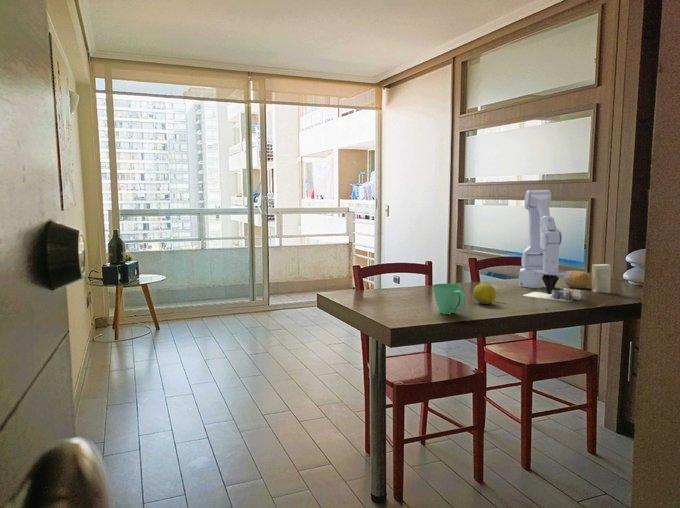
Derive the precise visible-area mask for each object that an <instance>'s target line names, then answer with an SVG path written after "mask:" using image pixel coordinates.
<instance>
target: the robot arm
mask: <svg viewBox="0 0 680 508" xmlns="http://www.w3.org/2000/svg"><path fill="white" fill-rule="evenodd" d="M551 202H552V192H551V191H550V189H545V190H544V189H543V190H541V189H538V190H530V189H529V190H526V191H525V194H524V208H525V210H527V211H528V246H527V247H526V248H525V249H524V250H522V253H521V268H520V270H519V273H518V287H523V288H531V289H541V288H543V284H544V286H545V288H546V289H545V290H546V293H547V294H552V289H553V287H556V285H557V283H558V281H559V278H562V279H563V278H570V273H566V271H559V264H560V263H559V262H560V261H559V258H560V257H559V255H560V254H559V253H560V245H562V242H563V241H562V240H563V239H562V237H563V236H562V232H561V230H560V229H559V228H557V225H556V221H555V218H554V217H553V216H551V212H550V204H551ZM541 233H542V235H541ZM541 243H542V244H541ZM541 246H542V247H541Z"/></svg>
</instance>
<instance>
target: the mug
mask: <svg viewBox="0 0 680 508" xmlns="http://www.w3.org/2000/svg"><path fill="white" fill-rule="evenodd" d="M432 288H433V294H434V299H435V302H436V306H437V308H438V311H439V313H440V312H441V313H457V312H459V311H461V309H462V308H463V306H464V305H465V304H466V303H465V302H466V295H465V293H464V291H463V290H462V286H461V285H460V284H456V283H437V284H436V283H435V284H433V286H432ZM441 313H440V314H441Z"/></svg>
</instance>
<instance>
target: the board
mask: <svg viewBox="0 0 680 508" xmlns="http://www.w3.org/2000/svg"><path fill="white" fill-rule="evenodd" d="M522 296H524V297H530V298H537V299H544V300H545V299H546V300H554V301H560V302H568V303H569V302H572V301H574V300H573V299H571V301H566V298H560V299H554V297H553V296H552V294H547V292H541V291H540V292H539V291H531V292H529V293H526V294H523V295H522Z"/></svg>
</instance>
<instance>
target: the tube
mask: <svg viewBox="0 0 680 508" xmlns="http://www.w3.org/2000/svg"><path fill="white" fill-rule="evenodd" d="M555 291H560V298H566V293H567V292H569V293H571V299H573V300H572V301H574V300H575V301H580V300H581V298H582V291H581V289H575V288H565V287H560V286H559V287H557V286H555V287H553V289H552V296H553V297H554V292H555Z"/></svg>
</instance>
